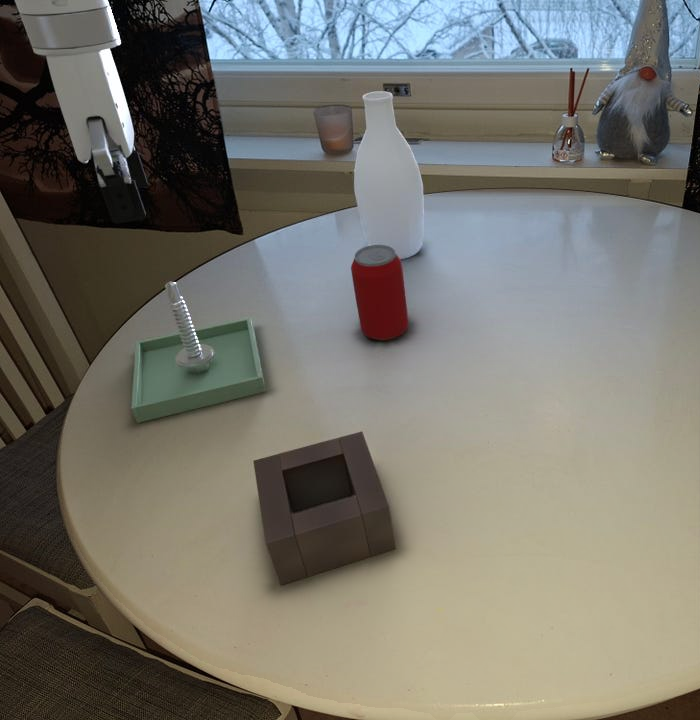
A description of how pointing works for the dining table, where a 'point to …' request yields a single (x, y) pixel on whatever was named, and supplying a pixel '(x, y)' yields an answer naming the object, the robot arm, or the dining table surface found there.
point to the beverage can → (380, 292)
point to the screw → (188, 335)
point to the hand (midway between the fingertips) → (131, 203)
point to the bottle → (388, 181)
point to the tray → (189, 390)
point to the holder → (322, 507)
